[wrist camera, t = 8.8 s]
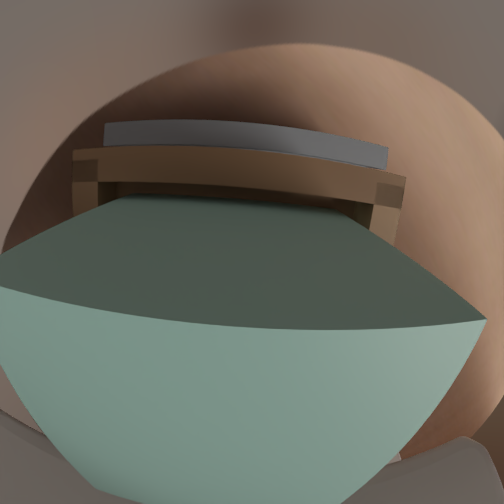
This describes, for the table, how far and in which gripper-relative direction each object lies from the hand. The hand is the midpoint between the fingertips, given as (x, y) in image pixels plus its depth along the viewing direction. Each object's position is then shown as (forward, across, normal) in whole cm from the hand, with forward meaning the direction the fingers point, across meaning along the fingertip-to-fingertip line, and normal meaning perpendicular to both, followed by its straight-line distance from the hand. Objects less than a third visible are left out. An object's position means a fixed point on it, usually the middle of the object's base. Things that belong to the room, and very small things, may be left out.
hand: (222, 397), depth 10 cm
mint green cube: (-3, 0, -7) cm, 7 cm away
